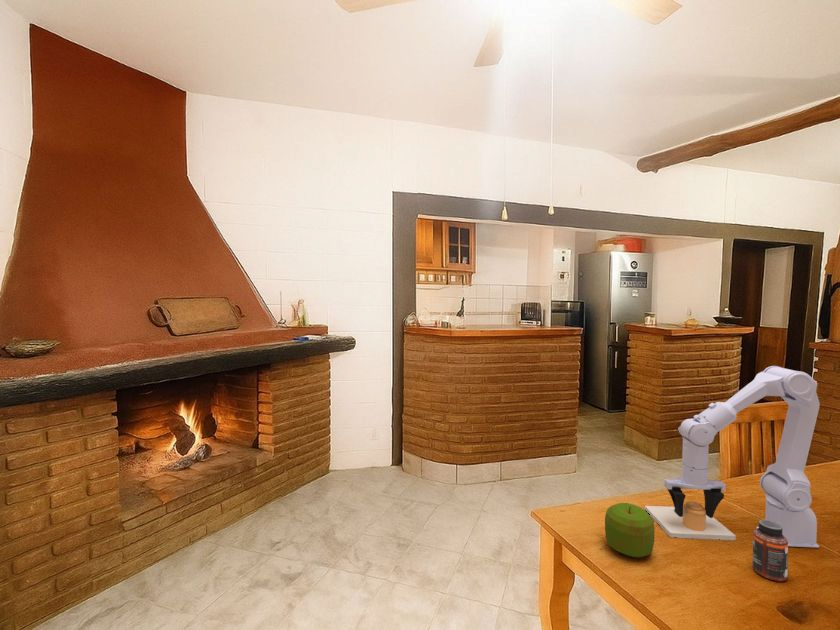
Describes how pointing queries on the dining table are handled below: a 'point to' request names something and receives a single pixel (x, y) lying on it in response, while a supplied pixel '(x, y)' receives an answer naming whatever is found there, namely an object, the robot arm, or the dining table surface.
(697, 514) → the acorn nut
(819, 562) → the dining table surface
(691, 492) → the dining table surface
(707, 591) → the dining table surface
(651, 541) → the apple
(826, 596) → the dining table surface
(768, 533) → the supplement bottle
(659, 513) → the junction plate
